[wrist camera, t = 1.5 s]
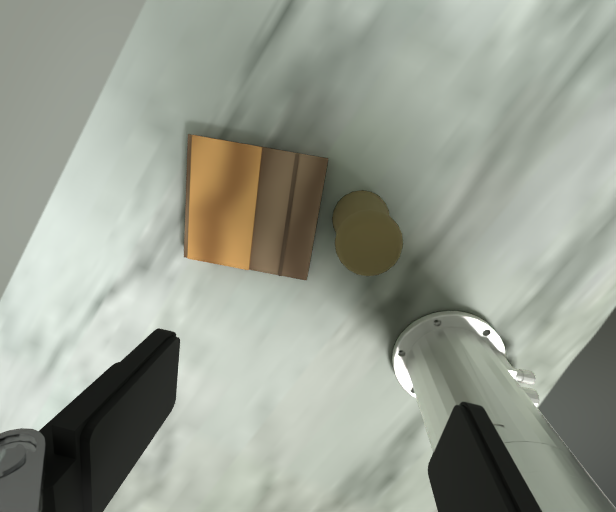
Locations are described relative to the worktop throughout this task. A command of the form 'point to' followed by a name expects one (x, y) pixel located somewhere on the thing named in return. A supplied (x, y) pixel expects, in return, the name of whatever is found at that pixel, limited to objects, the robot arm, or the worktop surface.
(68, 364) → the worktop surface
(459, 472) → the robot arm
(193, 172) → the board
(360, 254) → the cork
